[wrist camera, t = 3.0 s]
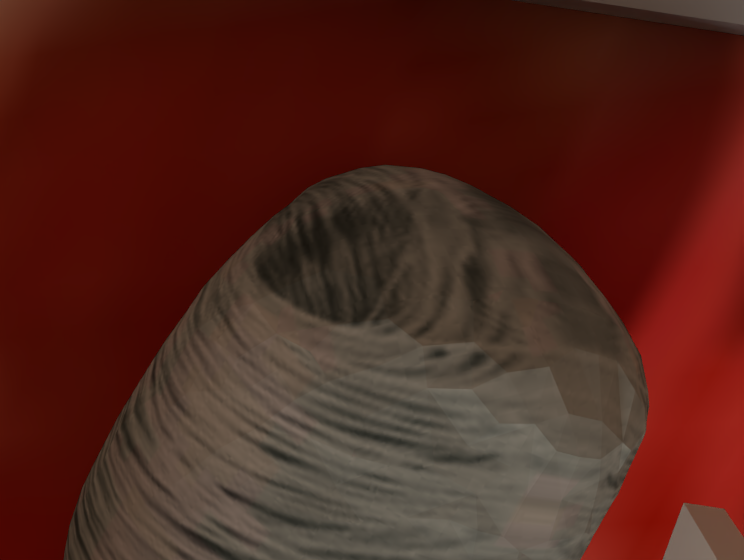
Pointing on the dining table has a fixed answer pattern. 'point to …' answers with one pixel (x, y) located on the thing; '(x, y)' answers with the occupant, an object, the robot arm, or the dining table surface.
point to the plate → (666, 11)
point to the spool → (376, 393)
